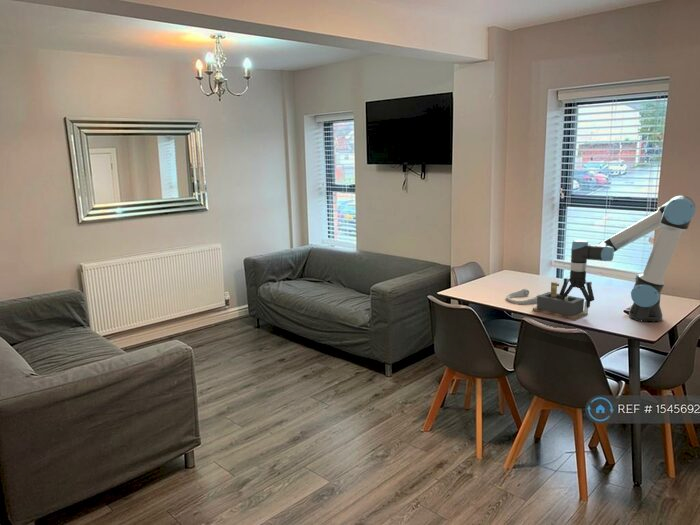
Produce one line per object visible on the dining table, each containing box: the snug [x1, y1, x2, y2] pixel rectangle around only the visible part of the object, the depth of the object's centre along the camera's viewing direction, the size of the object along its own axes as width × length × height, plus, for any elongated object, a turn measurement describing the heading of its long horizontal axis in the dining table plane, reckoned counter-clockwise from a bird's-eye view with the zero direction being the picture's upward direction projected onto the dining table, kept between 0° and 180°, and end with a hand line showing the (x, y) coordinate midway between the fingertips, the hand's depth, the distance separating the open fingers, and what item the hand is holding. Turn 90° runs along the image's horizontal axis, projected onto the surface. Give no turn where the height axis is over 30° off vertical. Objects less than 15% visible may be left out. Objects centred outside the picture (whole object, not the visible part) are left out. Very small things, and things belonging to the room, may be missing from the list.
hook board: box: [531, 281, 589, 321], centre depth 279 cm, size 24×14×16 cm, turn 40°
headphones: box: [506, 288, 540, 305], centre depth 306 cm, size 18×17×5 cm
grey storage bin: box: [536, 291, 585, 316], centre depth 280 cm, size 20×12×7 cm, turn 40°
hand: (575, 311), depth 274 cm, fingers open, 10 cm apart
